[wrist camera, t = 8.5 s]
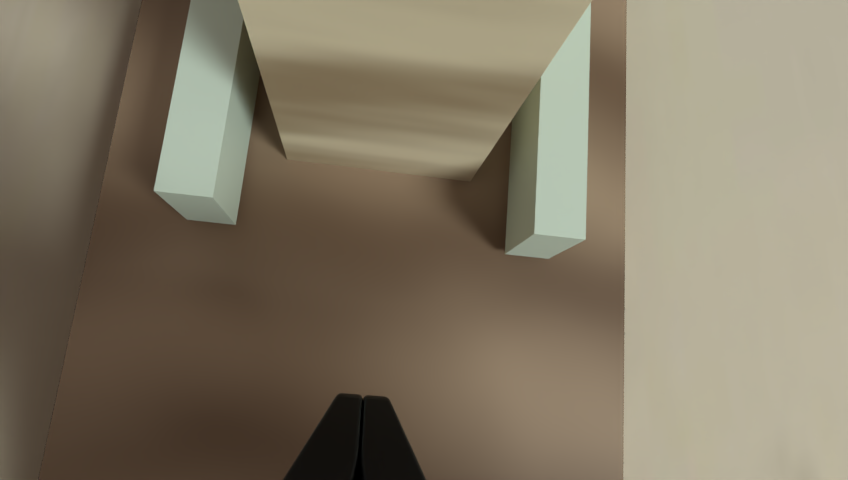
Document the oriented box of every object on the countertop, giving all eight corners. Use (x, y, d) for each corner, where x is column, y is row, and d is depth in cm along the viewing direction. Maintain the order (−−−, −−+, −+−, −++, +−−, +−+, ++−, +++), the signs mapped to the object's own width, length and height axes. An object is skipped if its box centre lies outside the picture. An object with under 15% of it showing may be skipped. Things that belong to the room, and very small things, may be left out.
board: (586, 736, 15) (715, 941, 10) (25, 726, 14) (-184, 963, 8) (600, -34, 20) (690, -175, 15) (193, -101, 19) (131, -286, 13)
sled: (548, 258, 15) (640, 211, 10) (186, 219, 14) (103, 147, 9) (558, -10, 17) (640, -157, 12) (237, -61, 16) (188, -243, 11)
